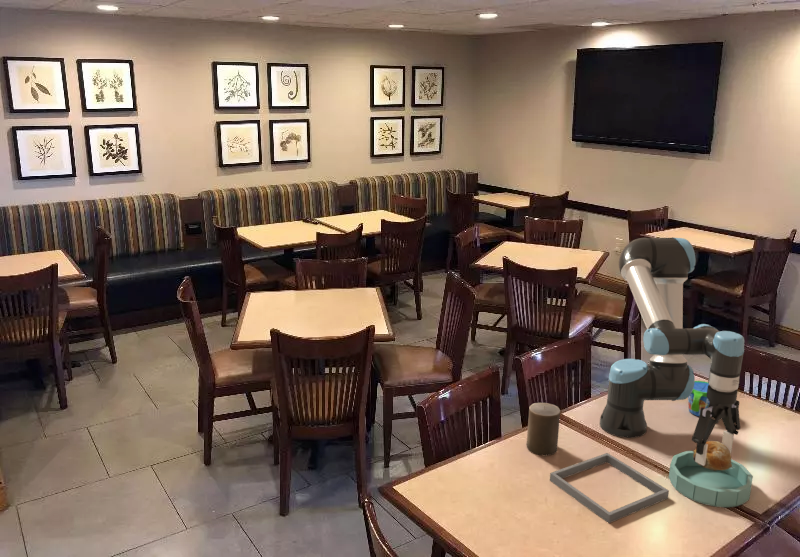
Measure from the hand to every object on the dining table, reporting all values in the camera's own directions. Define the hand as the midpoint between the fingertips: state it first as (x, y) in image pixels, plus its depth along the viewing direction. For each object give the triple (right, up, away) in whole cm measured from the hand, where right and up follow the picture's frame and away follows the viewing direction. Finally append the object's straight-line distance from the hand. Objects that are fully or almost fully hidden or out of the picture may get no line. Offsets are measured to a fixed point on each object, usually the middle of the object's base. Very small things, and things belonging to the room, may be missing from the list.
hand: (712, 458), depth 189 cm
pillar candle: (-44, -3, +23) cm, 50 cm away
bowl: (0, -9, +3) cm, 9 cm away
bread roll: (0, -2, +1) cm, 2 cm away
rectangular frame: (-30, -9, +1) cm, 31 cm away
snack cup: (+17, +3, +46) cm, 49 cm away
